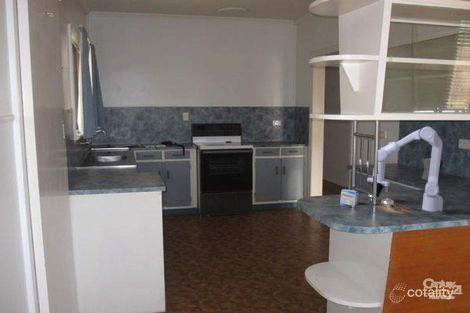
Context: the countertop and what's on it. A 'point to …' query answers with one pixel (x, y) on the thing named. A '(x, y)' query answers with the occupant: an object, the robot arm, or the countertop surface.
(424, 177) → the coffeepot
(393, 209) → the turntable
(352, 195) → the medicine box
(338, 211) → the countertop surface
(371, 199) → the dial gauge
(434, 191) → the robot arm
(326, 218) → the countertop surface
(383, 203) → the metal cover
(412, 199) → the countertop surface
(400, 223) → the countertop surface
